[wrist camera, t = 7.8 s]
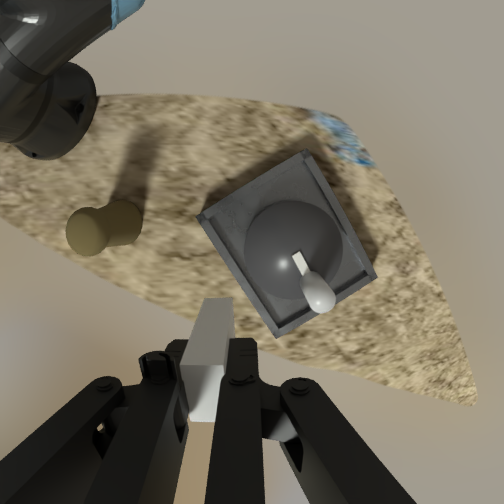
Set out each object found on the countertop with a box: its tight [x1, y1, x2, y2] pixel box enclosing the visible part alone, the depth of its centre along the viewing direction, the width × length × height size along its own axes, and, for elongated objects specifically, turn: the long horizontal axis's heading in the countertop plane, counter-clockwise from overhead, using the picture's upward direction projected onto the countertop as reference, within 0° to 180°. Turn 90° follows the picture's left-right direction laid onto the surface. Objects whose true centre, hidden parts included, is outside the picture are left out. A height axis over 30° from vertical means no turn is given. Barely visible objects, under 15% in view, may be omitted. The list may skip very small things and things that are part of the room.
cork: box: [66, 200, 142, 256], centre depth 32 cm, size 6×6×11 cm
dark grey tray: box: [195, 148, 377, 339], centre depth 37 cm, size 18×15×3 cm
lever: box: [244, 200, 343, 313], centre depth 32 cm, size 11×11×9 cm
